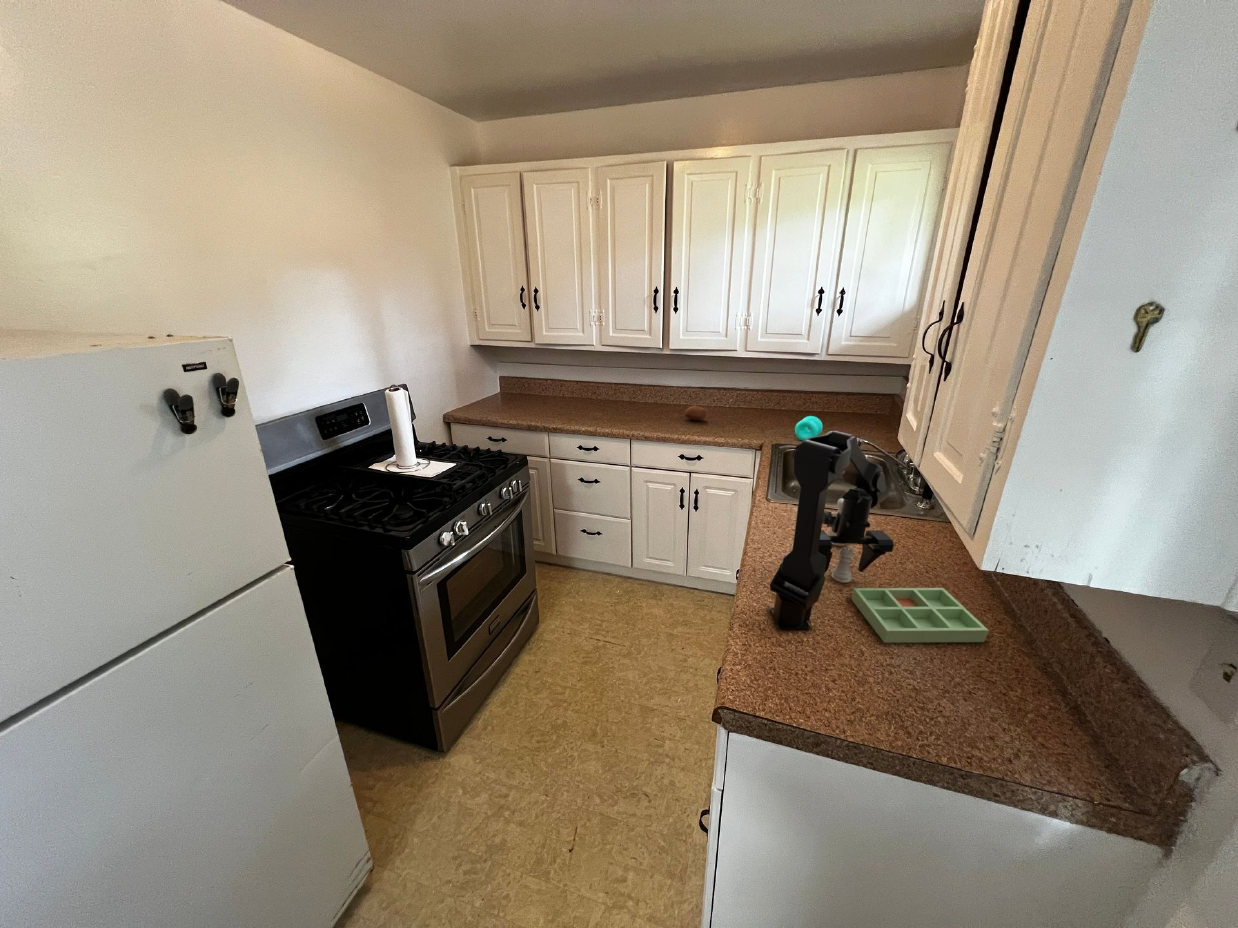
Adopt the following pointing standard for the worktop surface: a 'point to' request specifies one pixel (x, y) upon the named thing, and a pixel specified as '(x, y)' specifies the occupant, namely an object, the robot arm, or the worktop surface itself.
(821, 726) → the worktop surface
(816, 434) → the cyan rounded blob
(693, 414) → the potato
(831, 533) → the salt shaker
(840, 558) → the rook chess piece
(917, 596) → the grid
